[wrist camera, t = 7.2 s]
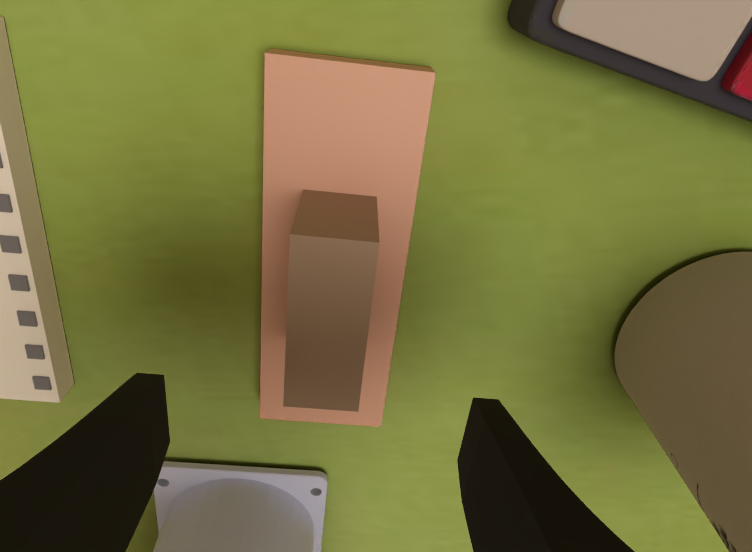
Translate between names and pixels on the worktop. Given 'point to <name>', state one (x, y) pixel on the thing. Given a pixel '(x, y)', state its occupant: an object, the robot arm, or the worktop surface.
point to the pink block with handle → (336, 229)
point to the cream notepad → (25, 265)
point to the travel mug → (699, 383)
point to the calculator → (654, 42)
